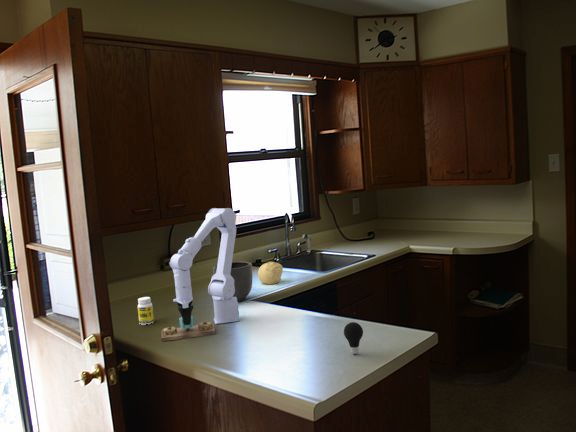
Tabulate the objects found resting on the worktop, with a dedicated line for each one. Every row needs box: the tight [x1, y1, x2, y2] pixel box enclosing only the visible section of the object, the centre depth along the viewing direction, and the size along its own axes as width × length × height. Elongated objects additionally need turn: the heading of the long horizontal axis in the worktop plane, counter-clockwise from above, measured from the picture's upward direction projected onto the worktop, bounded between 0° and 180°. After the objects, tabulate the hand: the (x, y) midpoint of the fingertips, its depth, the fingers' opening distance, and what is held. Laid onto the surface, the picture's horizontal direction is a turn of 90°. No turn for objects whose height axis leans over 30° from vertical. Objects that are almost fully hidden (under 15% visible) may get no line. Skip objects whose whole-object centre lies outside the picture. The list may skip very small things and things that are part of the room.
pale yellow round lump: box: [257, 261, 284, 285], centre depth 273 cm, size 12×12×11 cm
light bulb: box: [343, 321, 364, 355], centre depth 167 cm, size 6×6×10 cm
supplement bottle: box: [137, 296, 155, 326], centre depth 220 cm, size 6×6×10 cm
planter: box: [212, 260, 253, 303], centre depth 244 cm, size 17×17×16 cm
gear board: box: [160, 321, 216, 342], centre depth 202 cm, size 19×10×5 cm, turn 103°
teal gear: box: [178, 315, 195, 329], centre depth 202 cm, size 5×5×3 cm
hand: (186, 322), depth 202 cm, fingers closed on teal gear, 5 cm apart
